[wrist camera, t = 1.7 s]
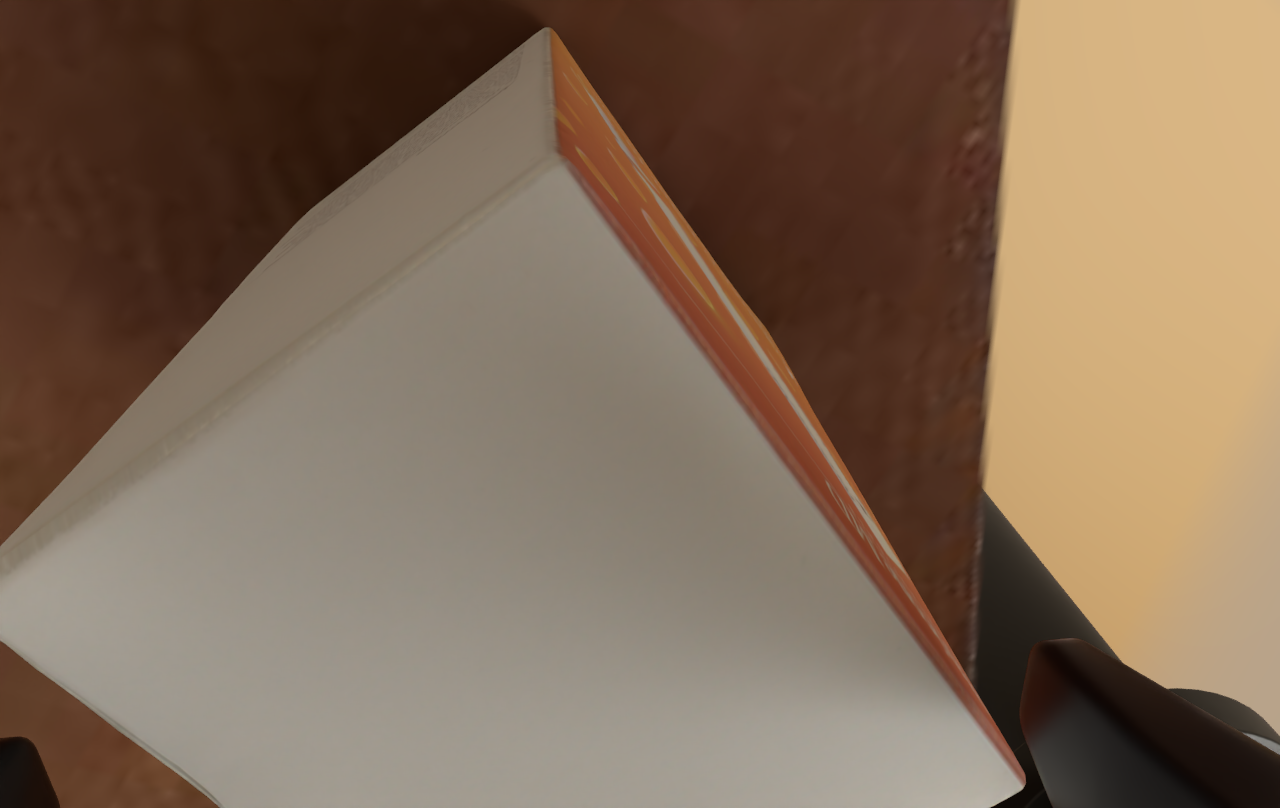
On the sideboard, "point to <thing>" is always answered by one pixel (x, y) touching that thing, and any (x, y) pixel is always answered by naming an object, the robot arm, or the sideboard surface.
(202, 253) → the sideboard surface
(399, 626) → the small box
